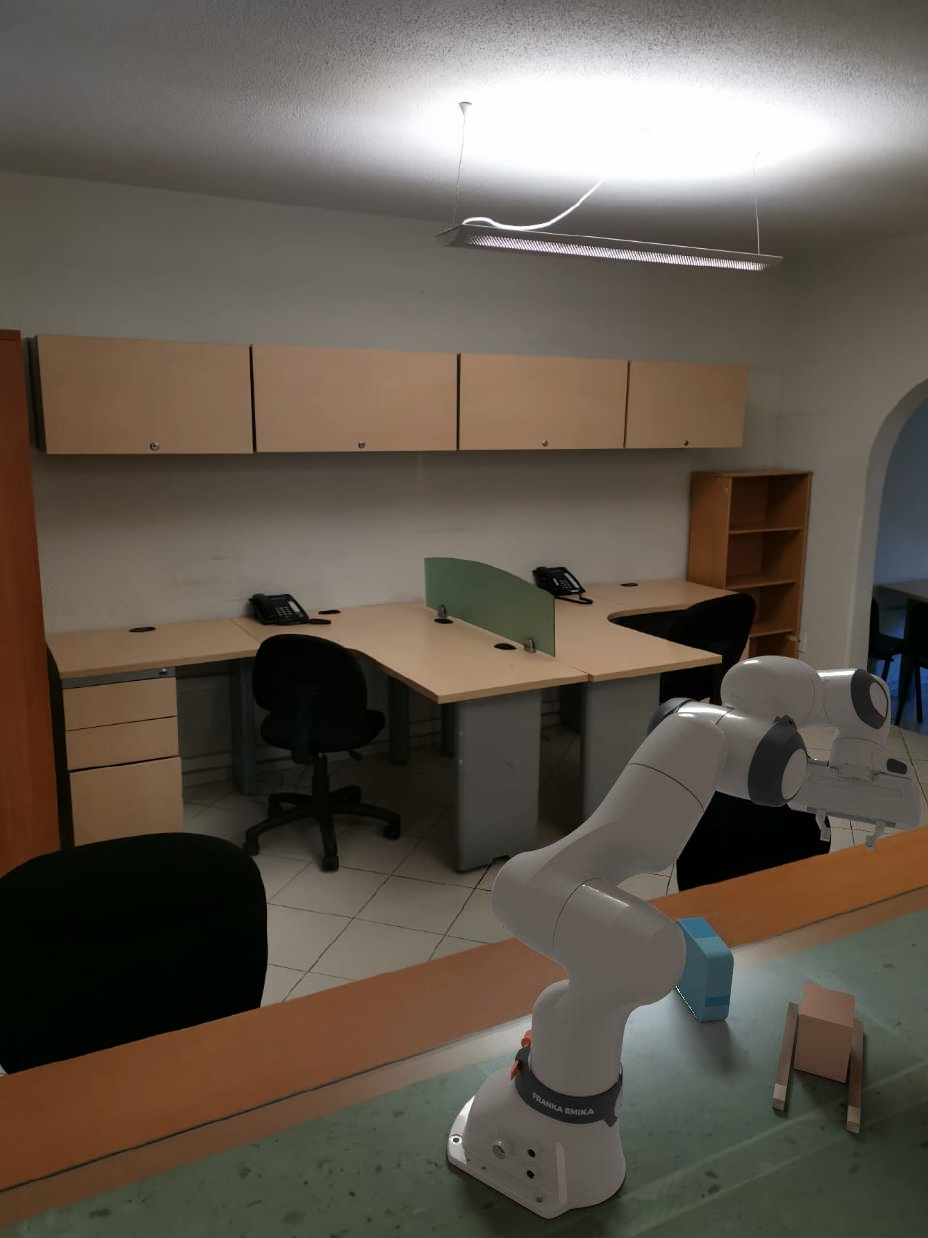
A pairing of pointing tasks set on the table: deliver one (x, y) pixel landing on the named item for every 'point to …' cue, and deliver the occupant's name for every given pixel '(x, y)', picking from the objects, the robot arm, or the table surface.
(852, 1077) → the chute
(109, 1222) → the table surface
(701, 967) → the data package
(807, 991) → the block
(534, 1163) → the robot arm
